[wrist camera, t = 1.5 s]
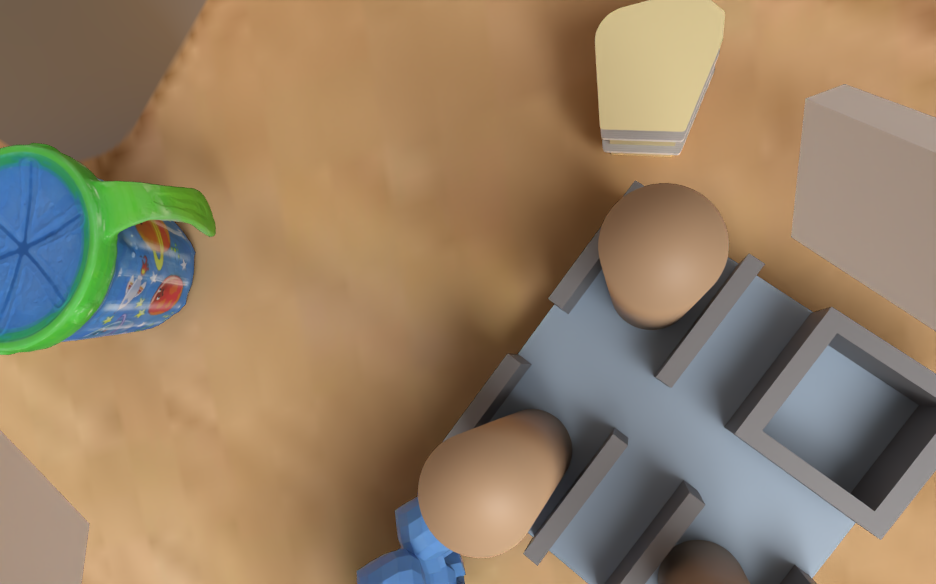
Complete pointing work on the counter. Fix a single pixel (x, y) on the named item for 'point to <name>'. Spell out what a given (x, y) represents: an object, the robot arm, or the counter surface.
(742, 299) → the stool
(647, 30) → the tiered building model
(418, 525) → the grapes
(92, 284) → the snack cup
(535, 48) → the counter surface
